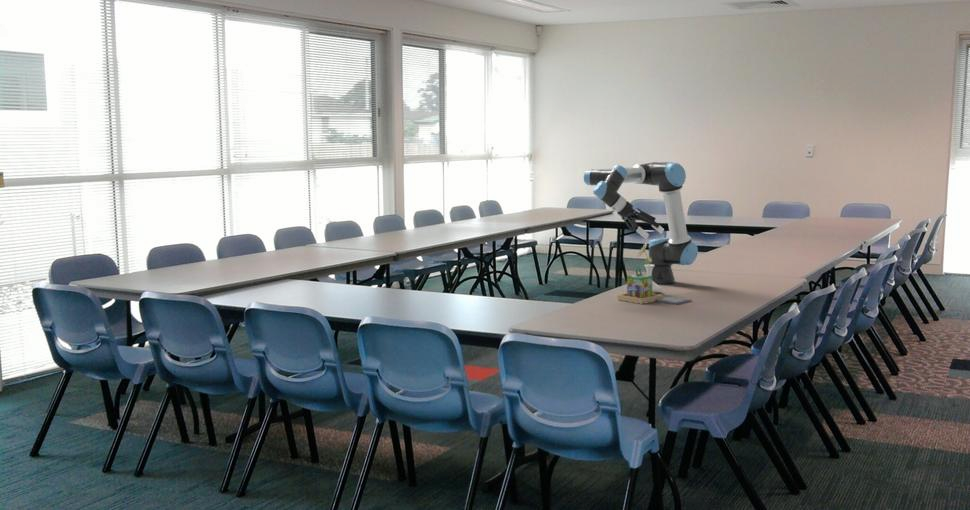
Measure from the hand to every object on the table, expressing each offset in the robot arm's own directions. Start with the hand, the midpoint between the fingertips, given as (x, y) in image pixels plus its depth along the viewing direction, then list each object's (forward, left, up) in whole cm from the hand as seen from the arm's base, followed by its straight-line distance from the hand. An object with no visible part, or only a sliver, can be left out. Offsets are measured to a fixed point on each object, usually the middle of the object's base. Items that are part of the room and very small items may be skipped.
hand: (655, 234), depth 436 cm
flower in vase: (-10, +7, -30) cm, 33 cm away
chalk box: (0, -11, -30) cm, 32 cm away
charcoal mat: (+14, -3, -30) cm, 33 cm away
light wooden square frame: (0, -11, -30) cm, 32 cm away
